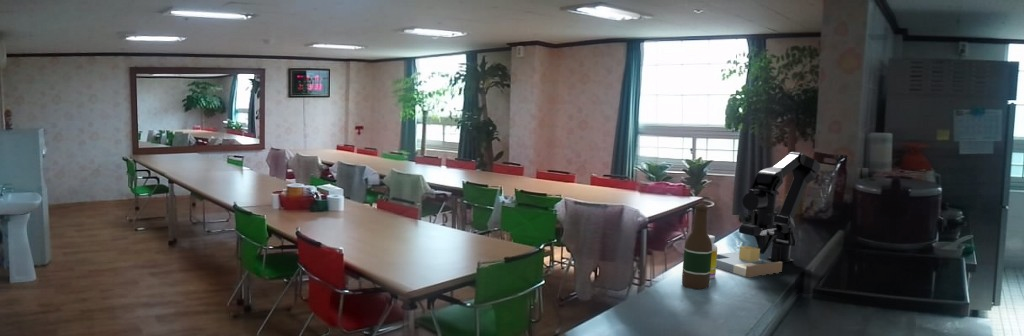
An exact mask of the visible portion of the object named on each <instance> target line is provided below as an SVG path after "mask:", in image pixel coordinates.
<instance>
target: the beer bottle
mask: <svg viewBox="0 0 1024 336" xmlns="http://www.w3.org/2000/svg"><path fill="white" fill-rule="evenodd" d="M694 210H695V211H694V218H693V225H692V229H691V232H690V233H689V234H688V236H687V237H686V240H685V242H684V248H683V249H684V250H683V261H682V274H681V284H682V286H684V287H685V288H687V287H688V289H691V288H692V290H703V289H704V290H706V289H708V288H709V286H710V269H711V257H712V243H711V240H710V238H709V236H708V235H709V234H708V228H707V227H708V226H707V224H708V223H707V222H708V211H709V207H708V206H707V205H705V204H695V206H694Z"/></svg>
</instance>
